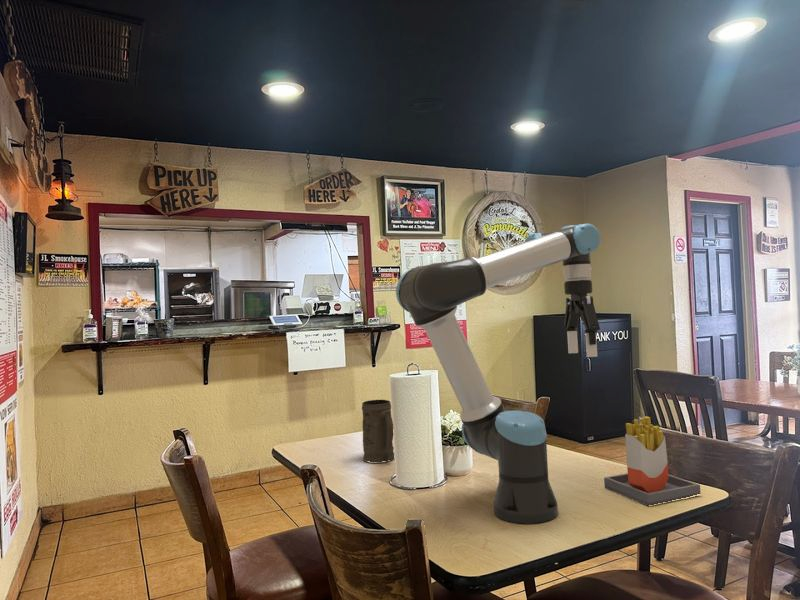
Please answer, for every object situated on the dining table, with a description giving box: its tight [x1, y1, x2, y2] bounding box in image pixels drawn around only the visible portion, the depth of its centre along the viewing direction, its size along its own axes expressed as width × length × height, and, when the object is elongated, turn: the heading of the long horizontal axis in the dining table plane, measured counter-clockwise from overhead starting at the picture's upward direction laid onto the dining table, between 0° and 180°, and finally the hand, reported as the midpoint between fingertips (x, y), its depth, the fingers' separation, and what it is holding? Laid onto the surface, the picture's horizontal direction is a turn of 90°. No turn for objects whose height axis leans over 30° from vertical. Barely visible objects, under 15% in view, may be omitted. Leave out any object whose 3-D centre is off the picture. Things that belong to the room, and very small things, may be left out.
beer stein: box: [361, 399, 395, 462], centre depth 191 cm, size 15×11×20 cm
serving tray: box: [603, 472, 702, 506], centre depth 146 cm, size 16×16×3 cm
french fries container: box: [624, 416, 670, 493], centre depth 145 cm, size 5×11×18 cm, turn 122°
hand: (582, 355), depth 161 cm, fingers open, 13 cm apart
